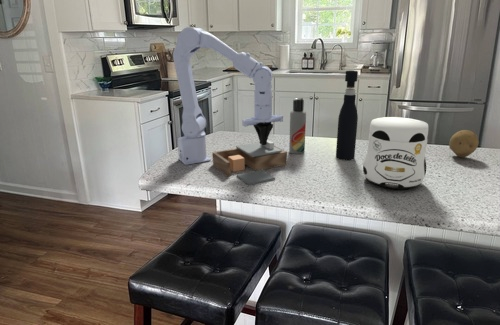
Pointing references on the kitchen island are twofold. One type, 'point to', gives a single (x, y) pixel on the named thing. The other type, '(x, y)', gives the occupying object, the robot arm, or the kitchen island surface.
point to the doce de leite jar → (396, 152)
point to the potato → (463, 143)
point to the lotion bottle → (297, 127)
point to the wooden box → (248, 160)
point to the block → (236, 162)
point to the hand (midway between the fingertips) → (263, 144)
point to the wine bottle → (347, 121)
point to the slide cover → (259, 149)
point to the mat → (255, 177)
